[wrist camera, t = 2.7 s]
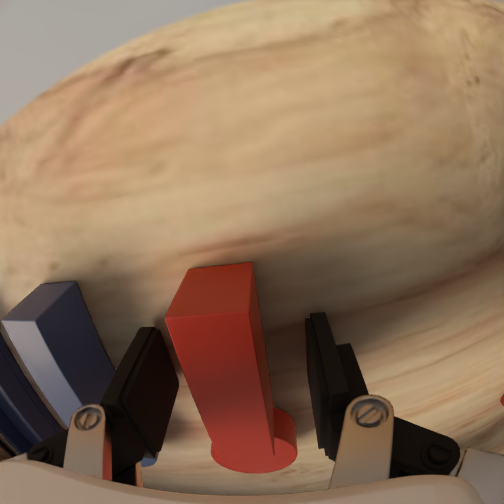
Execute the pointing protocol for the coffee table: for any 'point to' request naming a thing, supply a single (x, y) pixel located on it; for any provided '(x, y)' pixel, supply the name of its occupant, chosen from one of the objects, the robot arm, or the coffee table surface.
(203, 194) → the coffee table surface
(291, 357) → the coffee table surface
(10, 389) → the blue tray
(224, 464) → the red spoon
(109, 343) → the coffee table surface
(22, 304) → the blue spoon
